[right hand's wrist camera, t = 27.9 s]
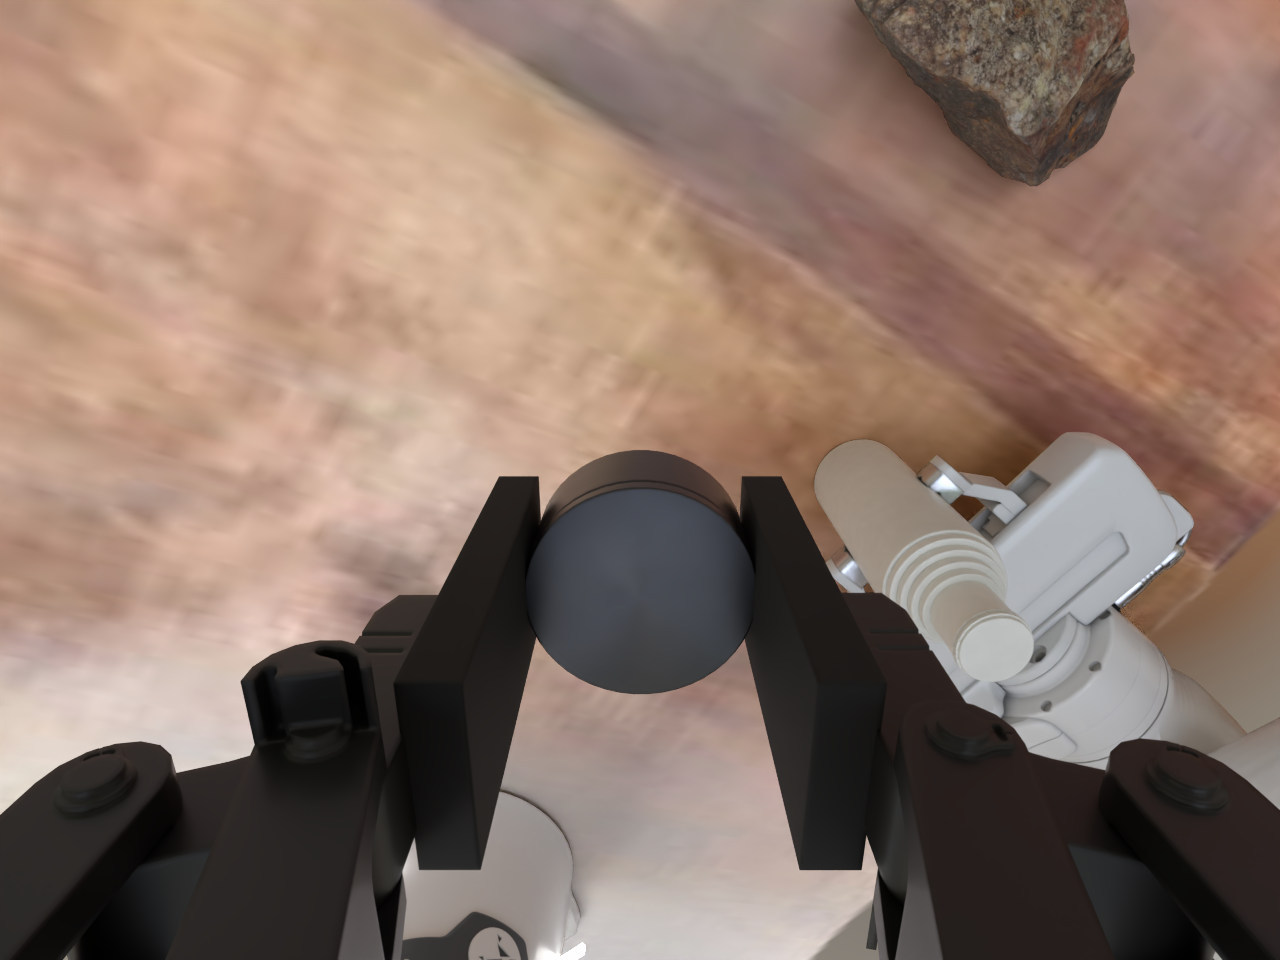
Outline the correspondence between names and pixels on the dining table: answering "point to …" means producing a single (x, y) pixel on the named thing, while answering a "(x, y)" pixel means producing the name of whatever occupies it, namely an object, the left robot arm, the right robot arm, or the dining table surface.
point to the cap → (640, 574)
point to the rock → (1014, 72)
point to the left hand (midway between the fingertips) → (881, 515)
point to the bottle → (924, 558)
